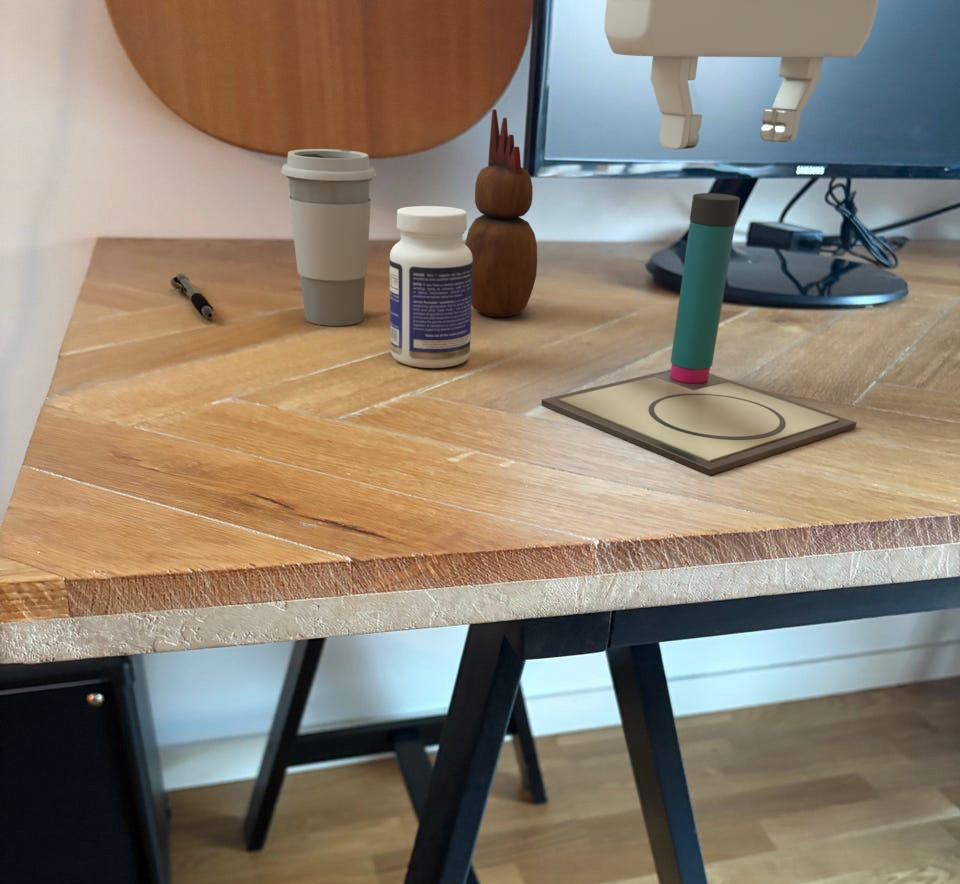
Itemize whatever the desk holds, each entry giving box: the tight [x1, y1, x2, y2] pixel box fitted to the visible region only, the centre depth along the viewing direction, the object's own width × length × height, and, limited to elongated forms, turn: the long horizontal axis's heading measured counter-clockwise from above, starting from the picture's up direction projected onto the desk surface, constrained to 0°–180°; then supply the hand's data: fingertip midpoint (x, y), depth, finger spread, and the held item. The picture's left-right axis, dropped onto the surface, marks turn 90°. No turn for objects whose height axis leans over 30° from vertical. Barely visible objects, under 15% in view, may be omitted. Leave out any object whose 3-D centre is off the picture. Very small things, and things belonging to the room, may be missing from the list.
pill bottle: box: [389, 205, 473, 369], centre depth 69 cm, size 6×6×10 cm
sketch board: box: [540, 369, 857, 476], centre depth 63 cm, size 14×14×1 cm
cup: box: [281, 148, 377, 327], centre depth 77 cm, size 7×7×12 cm
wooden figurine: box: [464, 109, 538, 318], centre depth 80 cm, size 7×6×15 cm
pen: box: [170, 273, 214, 319], centre depth 82 cm, size 14×2×1 cm, turn 24°
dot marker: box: [670, 192, 741, 384], centre depth 65 cm, size 3×3×12 cm
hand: (729, 144), depth 61 cm, fingers open, 8 cm apart
